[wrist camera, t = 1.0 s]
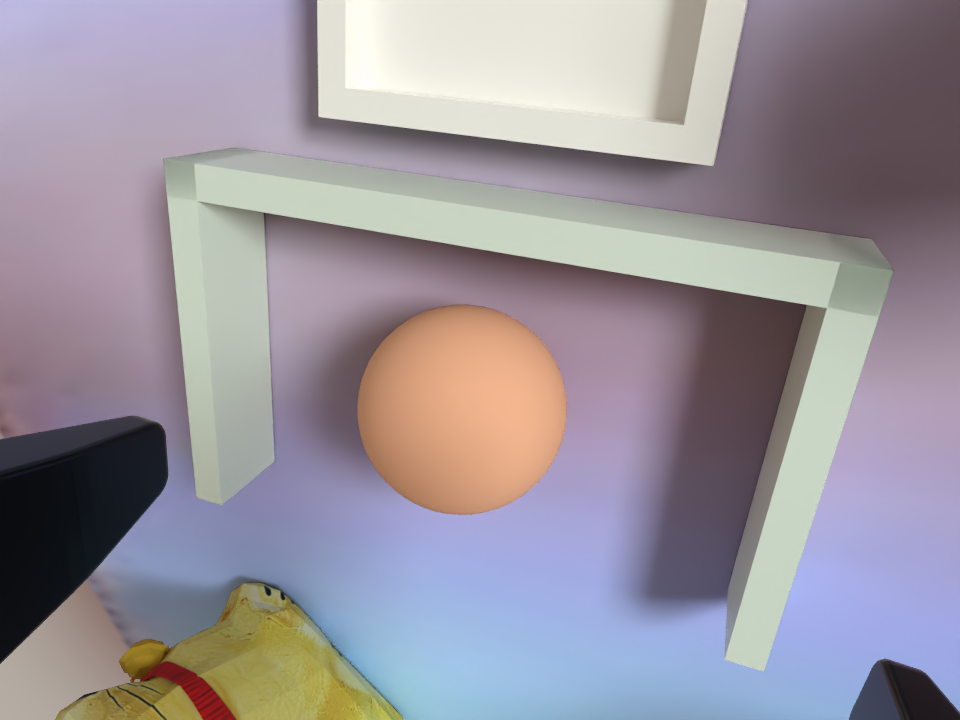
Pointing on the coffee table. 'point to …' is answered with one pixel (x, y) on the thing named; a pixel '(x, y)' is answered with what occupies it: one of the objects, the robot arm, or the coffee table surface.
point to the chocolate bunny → (240, 672)
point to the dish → (537, 70)
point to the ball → (462, 409)
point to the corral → (535, 234)
